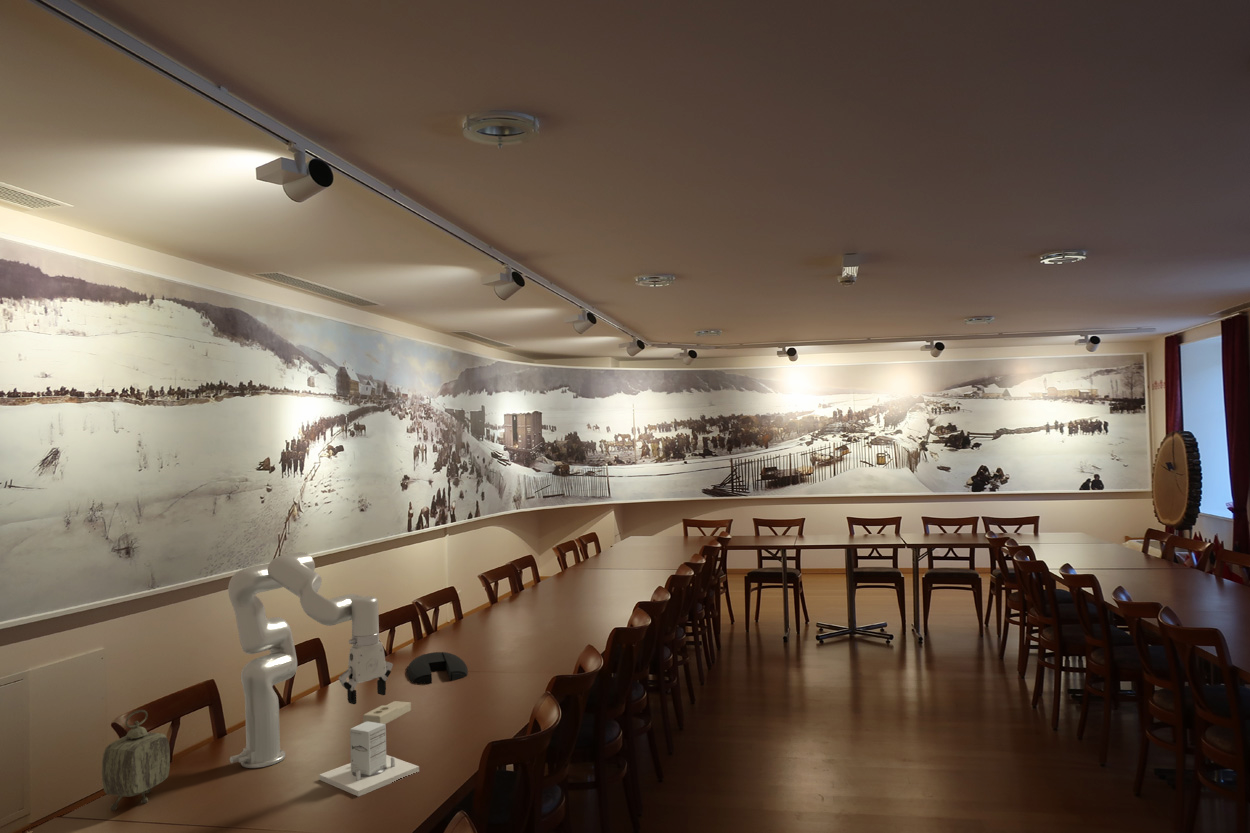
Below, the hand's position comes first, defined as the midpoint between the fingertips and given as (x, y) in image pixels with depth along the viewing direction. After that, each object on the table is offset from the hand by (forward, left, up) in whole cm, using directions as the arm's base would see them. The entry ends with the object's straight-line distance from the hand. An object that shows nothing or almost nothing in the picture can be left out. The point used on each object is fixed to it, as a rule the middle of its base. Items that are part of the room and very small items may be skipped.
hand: (367, 698), depth 233 cm
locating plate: (0, 0, -22) cm, 22 cm away
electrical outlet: (+34, +40, -23) cm, 57 cm away
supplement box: (0, 0, -21) cm, 21 cm away
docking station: (+82, +75, -23) cm, 114 cm away
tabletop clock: (-47, +39, -22) cm, 65 cm away
